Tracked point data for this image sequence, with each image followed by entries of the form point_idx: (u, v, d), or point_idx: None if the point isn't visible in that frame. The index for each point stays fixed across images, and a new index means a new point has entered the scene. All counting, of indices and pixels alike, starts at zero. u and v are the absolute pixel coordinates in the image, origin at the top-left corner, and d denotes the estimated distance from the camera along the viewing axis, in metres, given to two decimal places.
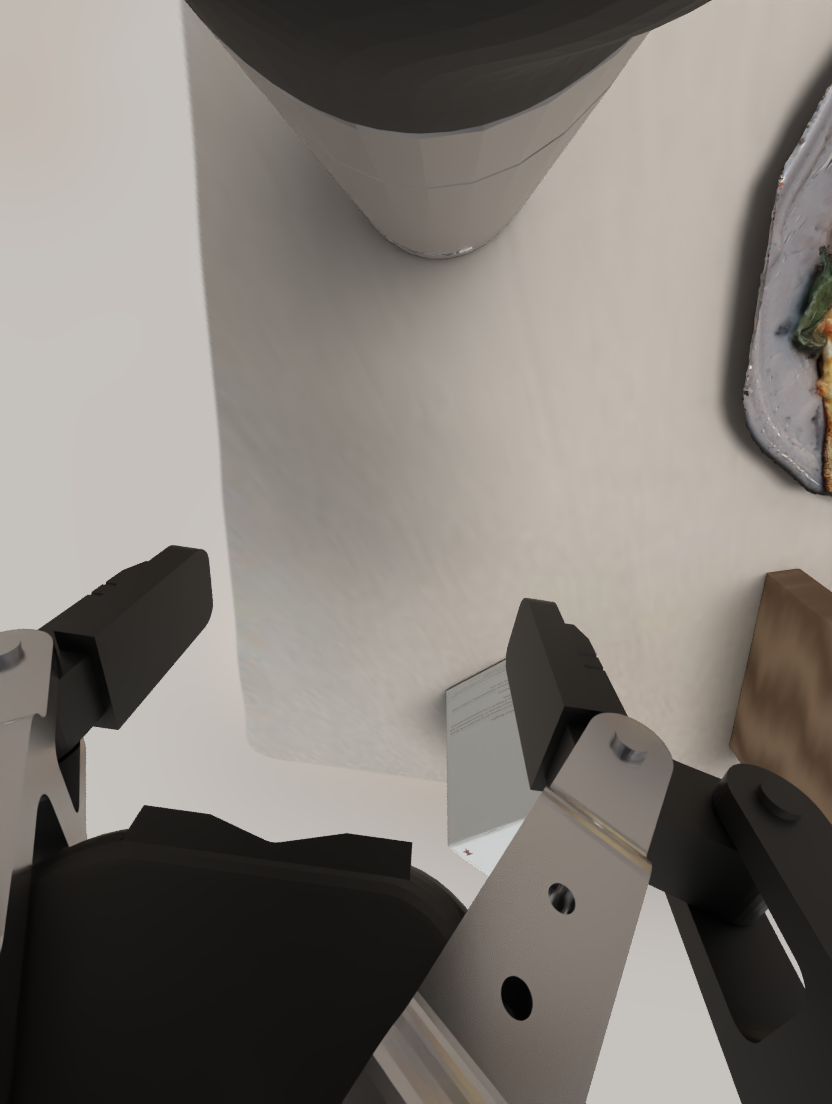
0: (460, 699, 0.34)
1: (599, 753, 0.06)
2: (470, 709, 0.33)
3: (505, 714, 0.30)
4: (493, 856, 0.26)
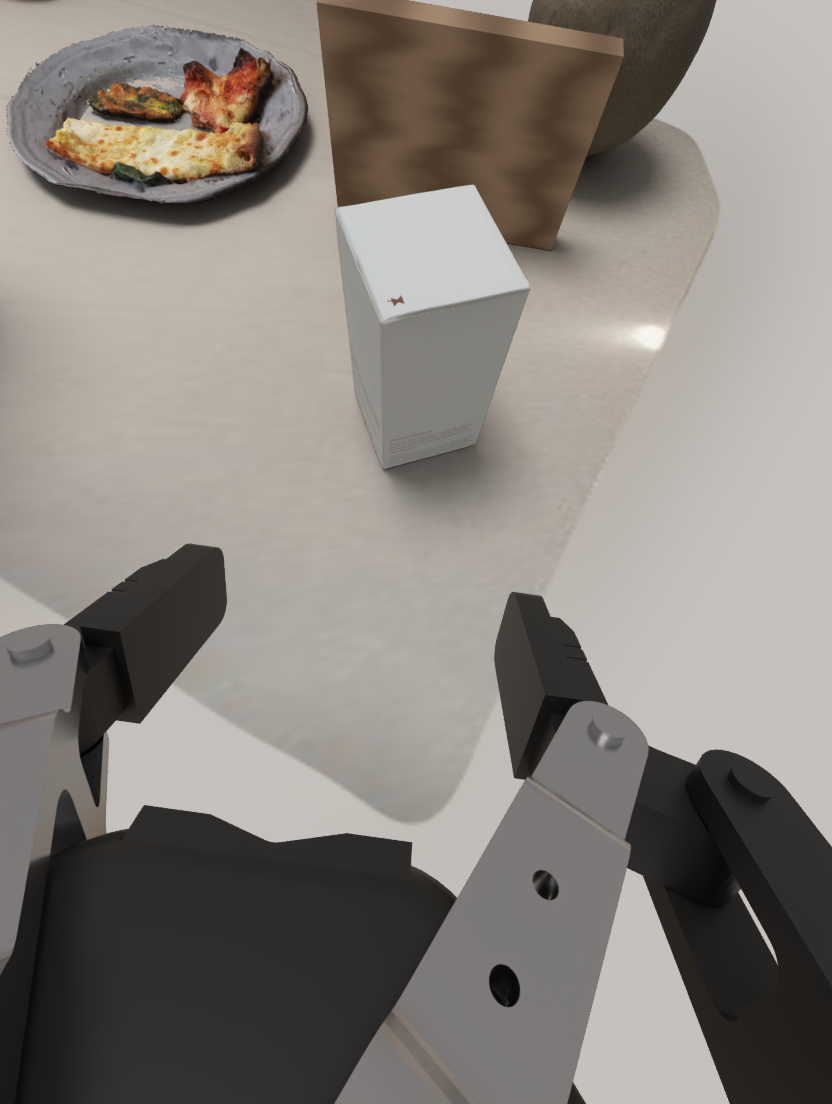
0: (374, 435, 0.28)
1: (577, 740, 0.06)
2: (368, 410, 0.27)
3: (354, 353, 0.26)
4: (413, 275, 0.18)
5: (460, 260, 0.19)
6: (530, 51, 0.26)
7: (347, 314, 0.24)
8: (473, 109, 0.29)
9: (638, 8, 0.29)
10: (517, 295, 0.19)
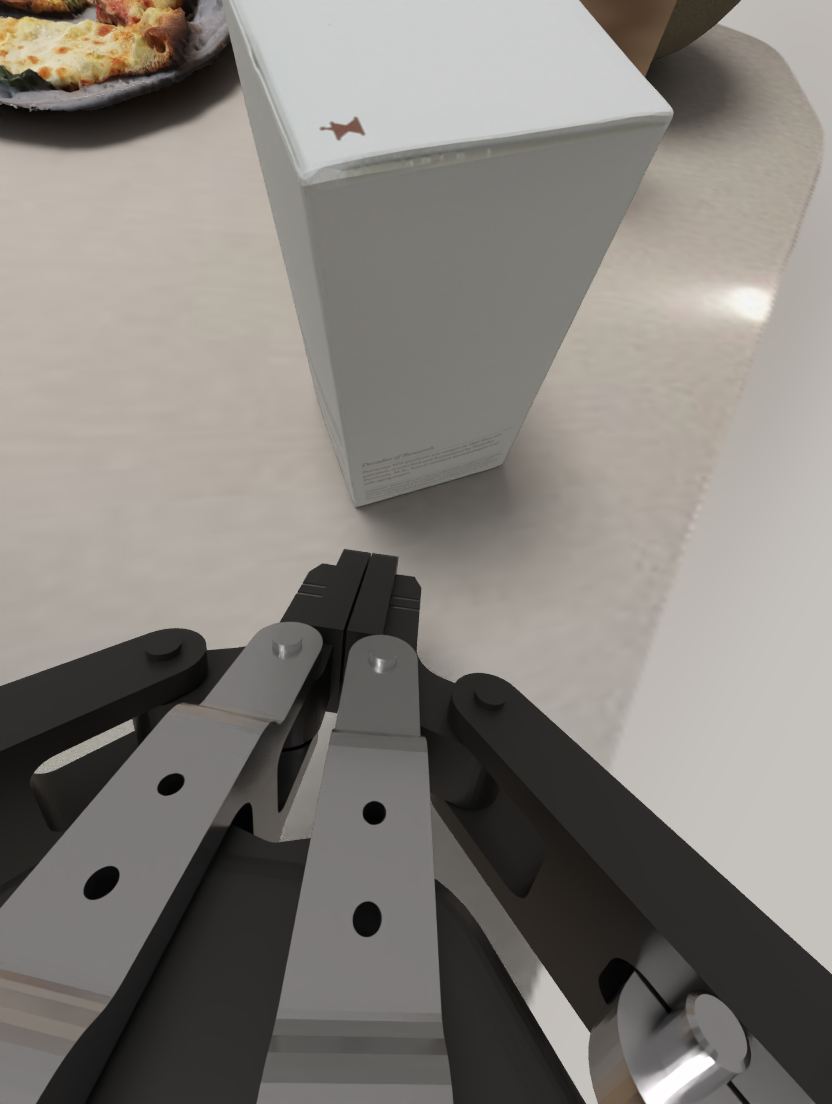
0: (338, 455, 0.17)
1: (363, 676, 0.07)
2: (327, 413, 0.16)
3: (298, 315, 0.15)
4: (389, 75, 0.07)
5: (503, 51, 0.08)
6: None
7: None
8: None
9: None
10: (640, 135, 0.08)
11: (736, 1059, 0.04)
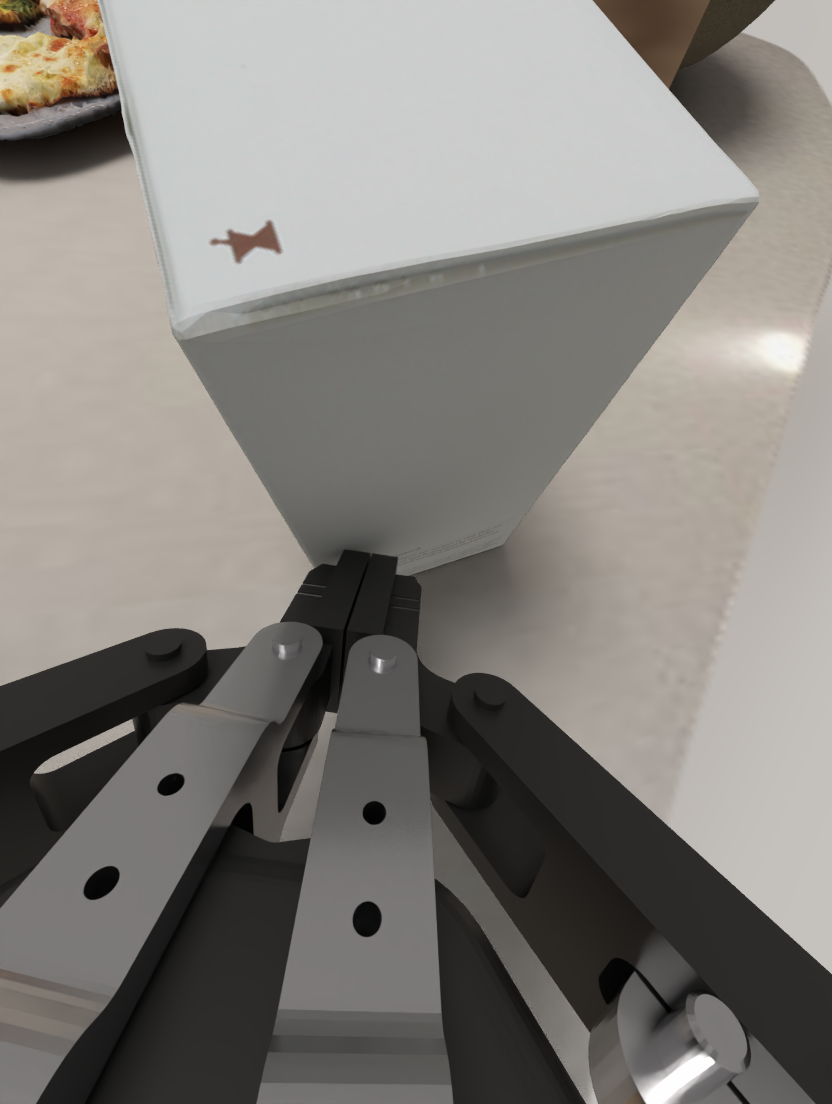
0: None
1: (363, 676, 0.07)
2: None
3: None
4: (327, 148, 0.05)
5: (504, 105, 0.05)
6: None
7: None
8: None
9: None
10: (709, 229, 0.05)
11: (736, 1060, 0.04)
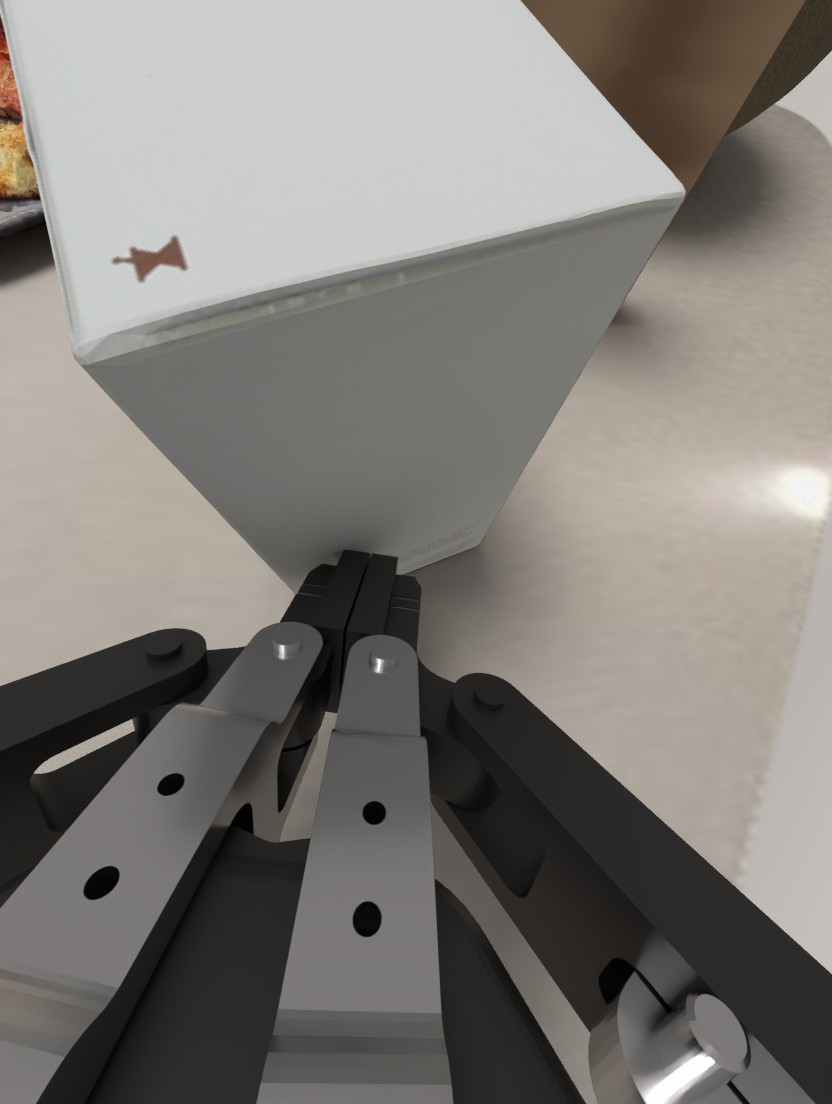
0: None
1: (364, 676, 0.07)
2: None
3: None
4: (237, 158, 0.05)
5: (421, 106, 0.05)
6: None
7: None
8: None
9: None
10: (637, 226, 0.05)
11: (736, 1059, 0.04)
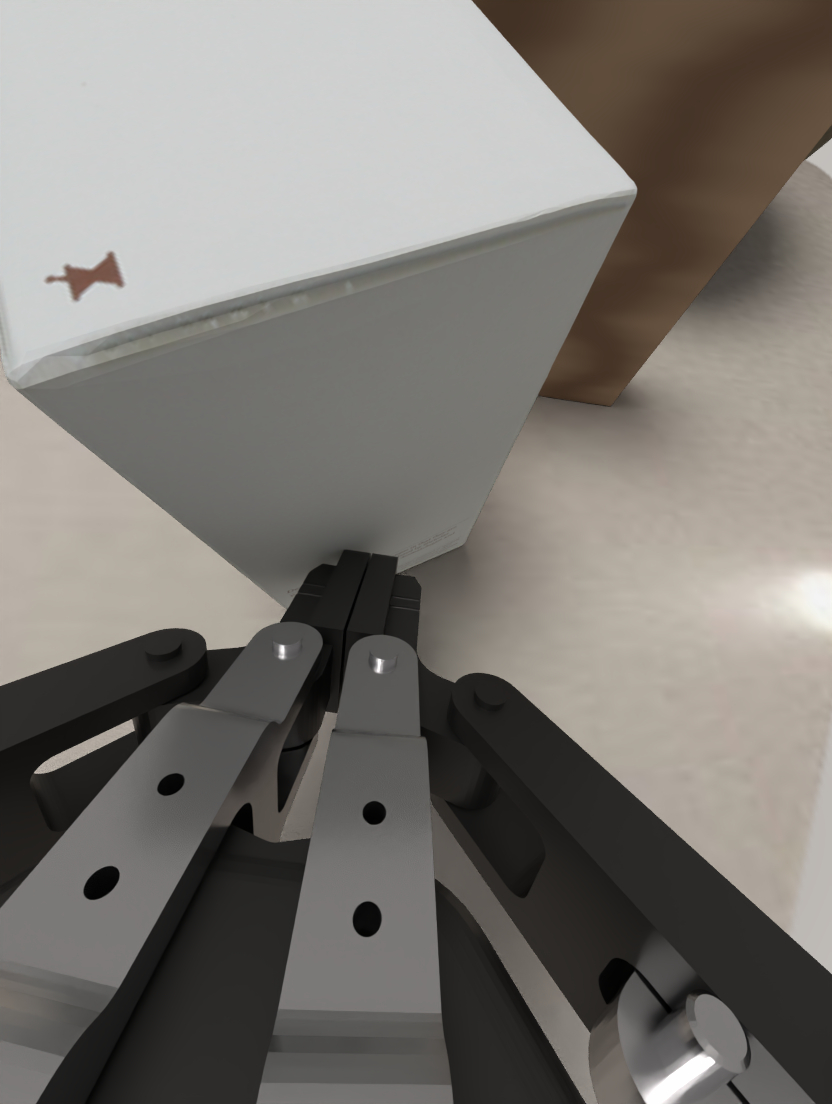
0: None
1: (364, 676, 0.07)
2: None
3: None
4: (175, 167, 0.04)
5: (366, 109, 0.05)
6: None
7: None
8: None
9: None
10: (590, 225, 0.05)
11: (736, 1060, 0.04)
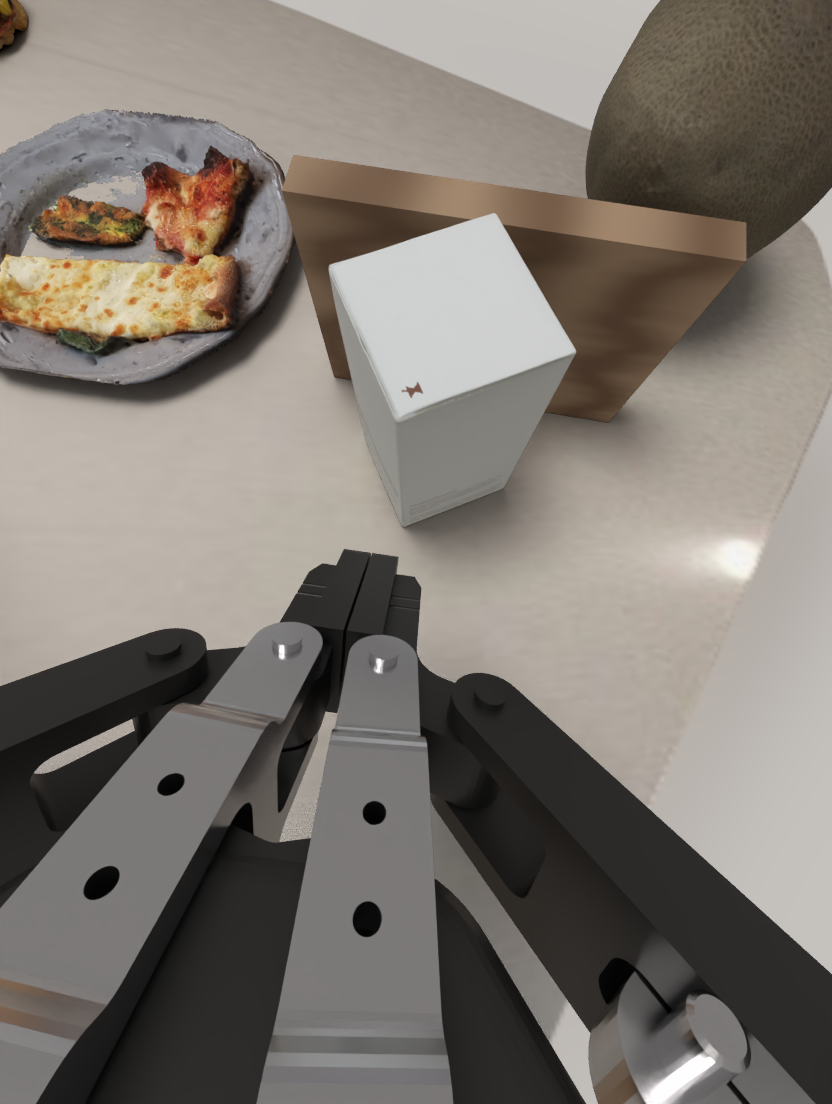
0: (390, 495, 0.25)
1: (364, 676, 0.07)
2: (383, 471, 0.24)
3: (361, 410, 0.23)
4: (430, 352, 0.15)
5: (486, 325, 0.15)
6: (599, 250, 0.17)
7: (351, 372, 0.21)
8: None
9: (768, 143, 0.19)
10: (559, 362, 0.15)
11: (736, 1059, 0.04)
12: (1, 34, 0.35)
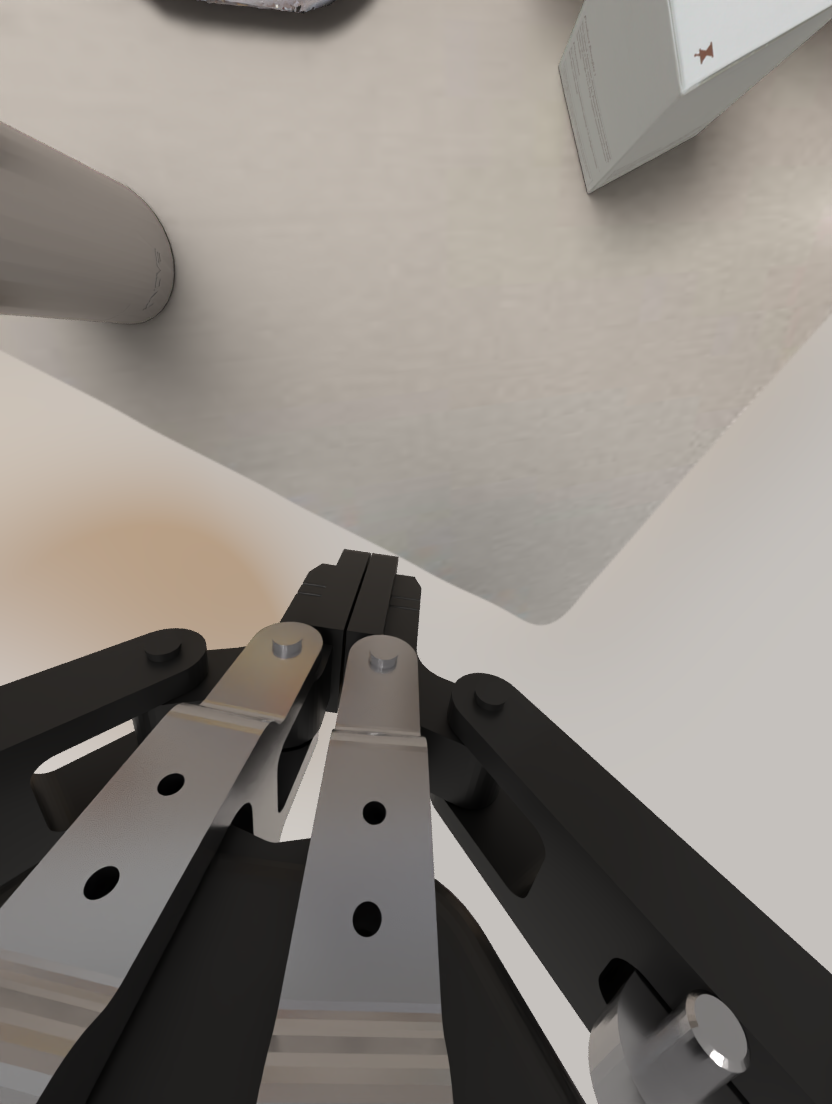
0: (588, 156, 0.26)
1: (364, 677, 0.07)
2: (592, 127, 0.25)
3: (589, 43, 0.22)
4: None
5: None
6: None
7: None
8: None
9: None
10: None
11: (736, 1060, 0.04)
12: None
